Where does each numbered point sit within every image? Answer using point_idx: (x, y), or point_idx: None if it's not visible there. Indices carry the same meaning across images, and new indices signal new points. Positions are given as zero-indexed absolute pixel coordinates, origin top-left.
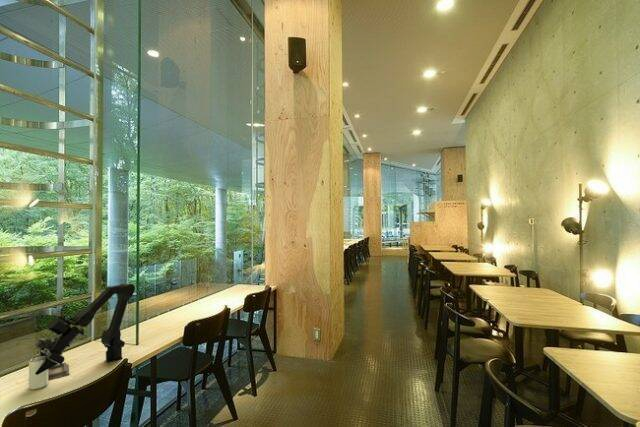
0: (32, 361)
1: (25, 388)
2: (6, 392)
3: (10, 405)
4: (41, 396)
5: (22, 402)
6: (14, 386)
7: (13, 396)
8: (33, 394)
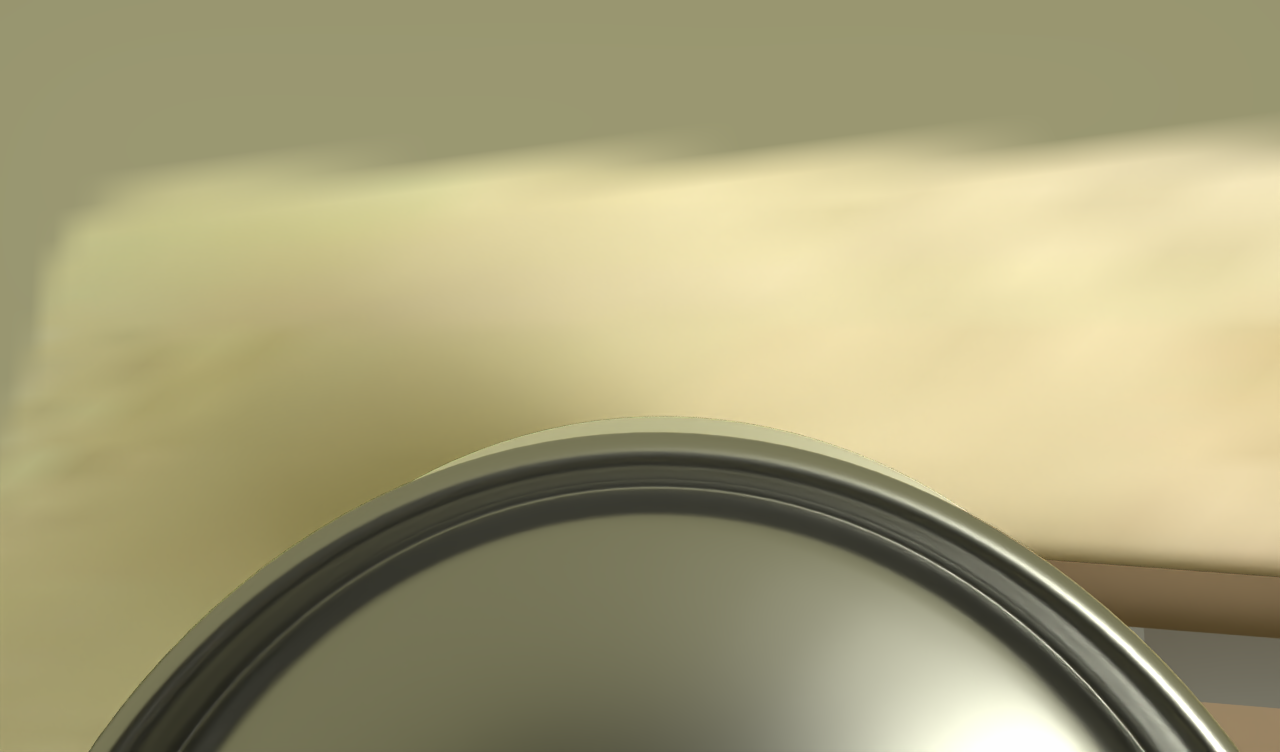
0: (252, 597)
1: None
2: (859, 174)
3: (113, 247)
4: (32, 741)
5: (61, 417)
6: (1108, 290)
7: (524, 282)
8: None
